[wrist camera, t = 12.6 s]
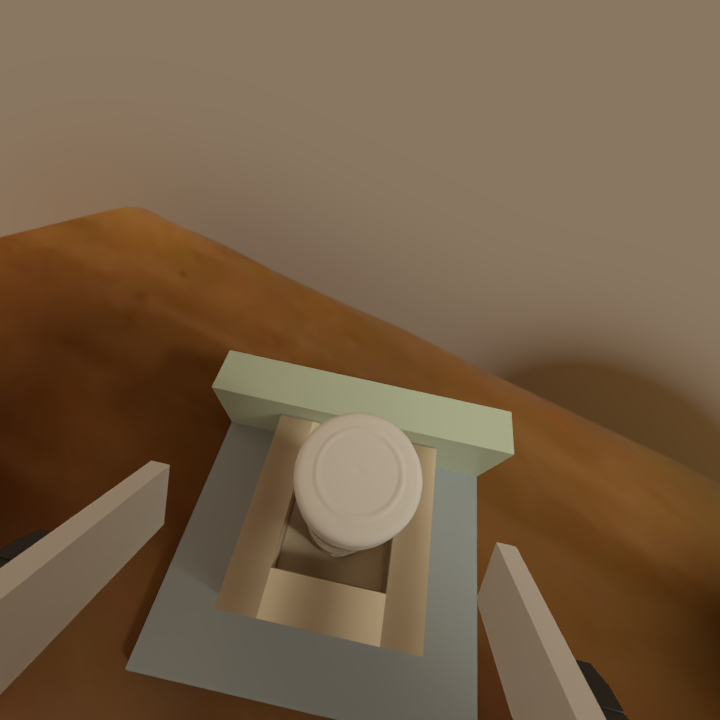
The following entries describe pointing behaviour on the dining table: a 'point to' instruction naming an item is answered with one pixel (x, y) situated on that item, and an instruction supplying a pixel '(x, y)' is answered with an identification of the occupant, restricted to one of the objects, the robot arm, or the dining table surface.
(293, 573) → the socket block
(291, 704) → the backstop board
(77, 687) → the dining table surface
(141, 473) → the robot arm
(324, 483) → the sprinkles bottle
